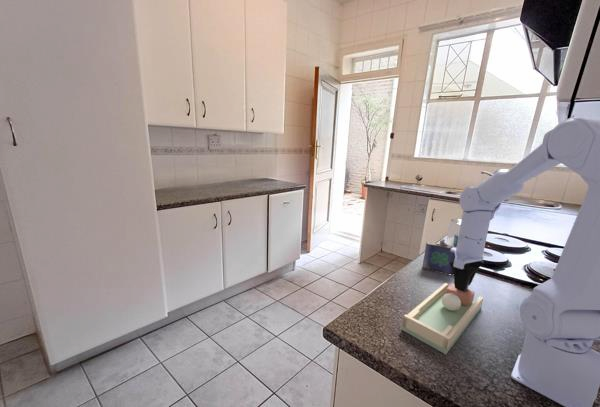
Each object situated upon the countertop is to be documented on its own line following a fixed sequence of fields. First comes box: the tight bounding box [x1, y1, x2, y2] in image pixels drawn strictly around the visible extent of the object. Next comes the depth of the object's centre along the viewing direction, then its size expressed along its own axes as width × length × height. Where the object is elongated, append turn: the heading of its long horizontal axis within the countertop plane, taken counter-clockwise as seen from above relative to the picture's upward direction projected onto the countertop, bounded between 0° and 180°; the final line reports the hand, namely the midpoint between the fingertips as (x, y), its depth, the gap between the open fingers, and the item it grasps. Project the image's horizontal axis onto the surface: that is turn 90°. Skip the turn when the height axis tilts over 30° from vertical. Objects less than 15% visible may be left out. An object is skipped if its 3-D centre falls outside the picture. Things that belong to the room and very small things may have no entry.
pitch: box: [401, 282, 484, 355], centre depth 62 cm, size 9×24×4 cm, turn 132°
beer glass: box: [446, 218, 462, 247], centre depth 92 cm, size 7×7×15 cm
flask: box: [421, 239, 456, 276], centre depth 86 cm, size 9×3×11 cm, turn 61°
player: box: [446, 279, 475, 306], centre depth 68 cm, size 5×4×7 cm
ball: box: [442, 293, 461, 311], centre depth 64 cm, size 4×4×4 cm
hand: (462, 286), depth 68 cm, fingers open, 4 cm apart
